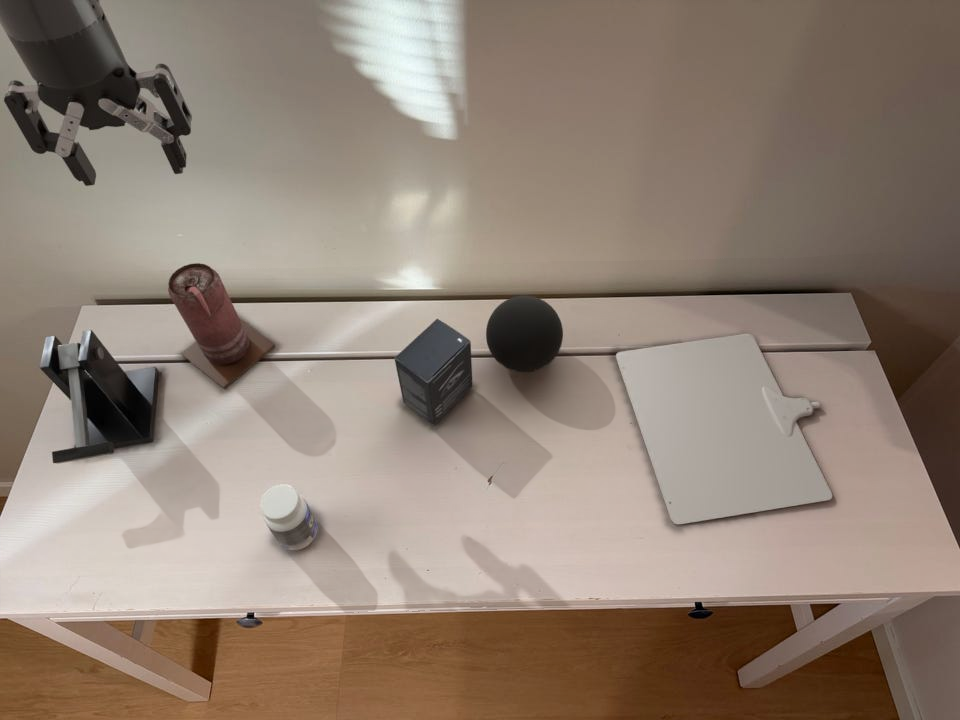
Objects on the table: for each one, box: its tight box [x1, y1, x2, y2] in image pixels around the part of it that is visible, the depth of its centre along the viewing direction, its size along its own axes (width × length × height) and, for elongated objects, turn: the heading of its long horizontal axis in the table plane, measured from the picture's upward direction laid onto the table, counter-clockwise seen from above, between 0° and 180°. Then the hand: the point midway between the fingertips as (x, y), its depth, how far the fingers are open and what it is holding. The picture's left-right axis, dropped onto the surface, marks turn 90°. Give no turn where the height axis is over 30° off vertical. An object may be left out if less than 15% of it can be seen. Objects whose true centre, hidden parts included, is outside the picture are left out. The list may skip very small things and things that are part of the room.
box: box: [394, 318, 474, 426], centre depth 83 cm, size 8×6×11 cm
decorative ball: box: [485, 295, 564, 373], centre depth 87 cm, size 10×10×10 cm
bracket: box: [39, 329, 160, 450], centre depth 80 cm, size 11×9×14 cm
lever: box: [51, 342, 115, 464], centre depth 75 cm, size 13×6×2 cm, turn 12°
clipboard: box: [615, 333, 833, 526], centre depth 84 cm, size 25×24×1 cm
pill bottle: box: [259, 483, 318, 551], centre depth 73 cm, size 5×5×8 cm
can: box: [167, 262, 249, 365], centre depth 85 cm, size 6×6×14 cm
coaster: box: [180, 318, 276, 390], centre depth 91 cm, size 9×9×1 cm
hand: (136, 174), depth 67 cm, fingers open, 8 cm apart
